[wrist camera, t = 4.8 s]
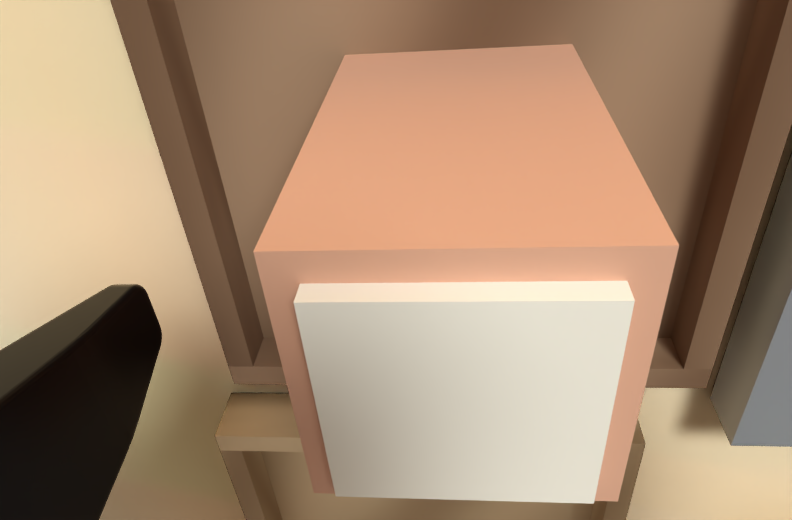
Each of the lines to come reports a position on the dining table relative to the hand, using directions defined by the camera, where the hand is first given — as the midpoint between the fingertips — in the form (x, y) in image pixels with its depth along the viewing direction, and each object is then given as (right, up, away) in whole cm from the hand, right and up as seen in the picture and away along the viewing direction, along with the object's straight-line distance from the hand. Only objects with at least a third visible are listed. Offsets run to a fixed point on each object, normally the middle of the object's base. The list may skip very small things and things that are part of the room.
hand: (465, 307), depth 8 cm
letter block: (0, +3, +4) cm, 5 cm away
